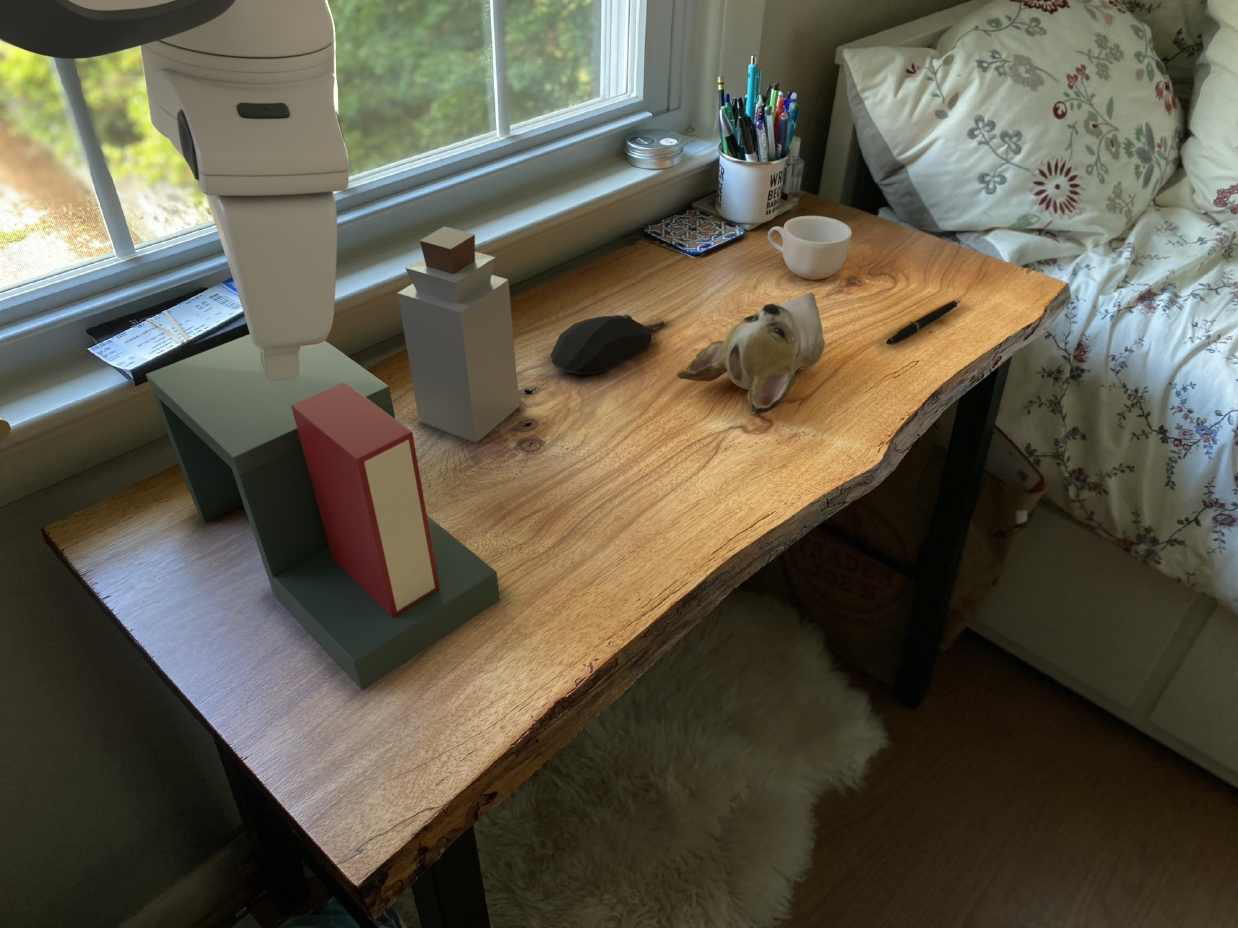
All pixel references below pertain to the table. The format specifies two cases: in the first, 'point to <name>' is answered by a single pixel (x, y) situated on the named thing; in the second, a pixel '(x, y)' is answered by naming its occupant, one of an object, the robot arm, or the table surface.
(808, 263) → the teacup
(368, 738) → the table surface
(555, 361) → the gaming mouse
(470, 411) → the perfume bottle
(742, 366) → the ceramic sculpture
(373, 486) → the book
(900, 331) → the fountain pen
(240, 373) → the shelf
